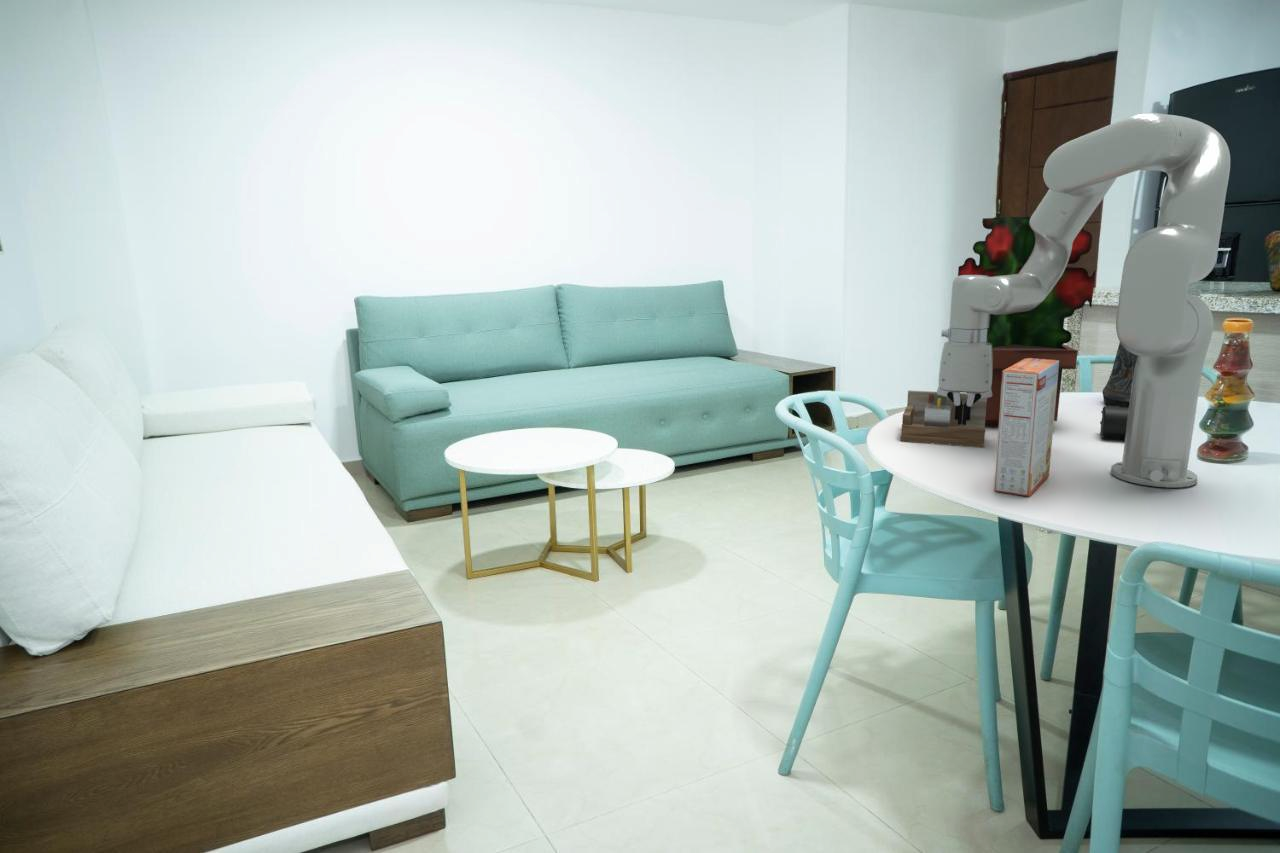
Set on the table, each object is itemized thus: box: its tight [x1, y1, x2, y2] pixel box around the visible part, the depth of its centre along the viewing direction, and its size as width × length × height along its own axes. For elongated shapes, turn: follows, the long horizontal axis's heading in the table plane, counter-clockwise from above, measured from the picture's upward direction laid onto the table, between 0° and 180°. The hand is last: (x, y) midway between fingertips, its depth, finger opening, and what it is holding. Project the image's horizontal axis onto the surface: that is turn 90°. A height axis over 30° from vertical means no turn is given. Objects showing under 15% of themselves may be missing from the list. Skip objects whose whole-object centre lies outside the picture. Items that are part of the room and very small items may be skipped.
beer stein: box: [1102, 342, 1138, 408], centre depth 185 cm, size 16×19×25 cm
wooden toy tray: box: [900, 389, 987, 448], centre depth 166 cm, size 14×16×8 cm
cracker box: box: [993, 358, 1059, 497], centre depth 132 cm, size 14×6×21 cm, turn 141°
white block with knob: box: [924, 398, 952, 427], centre depth 166 cm, size 5×5×6 cm
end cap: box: [1099, 405, 1129, 441], centre depth 160 cm, size 10×7×7 cm
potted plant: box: [957, 216, 1096, 427], centre depth 173 cm, size 22×22×45 cm
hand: (961, 423), depth 165 cm, fingers closed
